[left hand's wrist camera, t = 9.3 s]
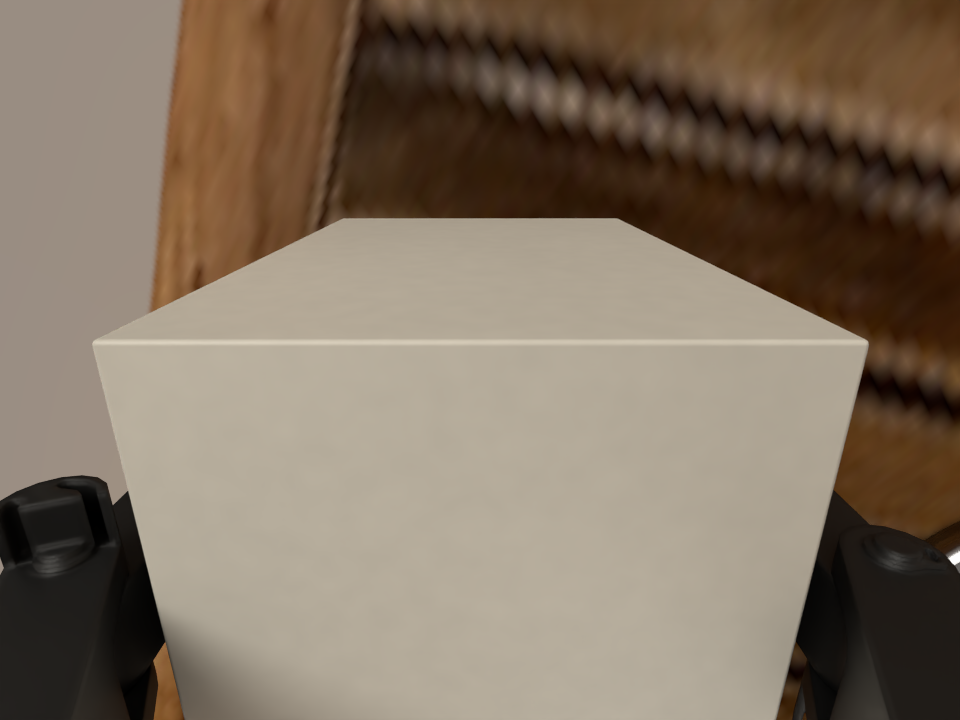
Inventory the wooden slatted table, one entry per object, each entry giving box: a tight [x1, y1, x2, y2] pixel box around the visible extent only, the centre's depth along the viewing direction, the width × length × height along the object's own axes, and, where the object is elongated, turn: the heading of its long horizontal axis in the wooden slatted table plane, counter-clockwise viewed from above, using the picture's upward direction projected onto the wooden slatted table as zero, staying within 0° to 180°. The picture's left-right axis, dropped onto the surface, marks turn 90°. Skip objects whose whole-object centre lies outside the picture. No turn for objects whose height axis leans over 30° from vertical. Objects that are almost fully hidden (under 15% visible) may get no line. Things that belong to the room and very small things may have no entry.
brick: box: [92, 219, 869, 720], centre depth 12 cm, size 8×8×11 cm
